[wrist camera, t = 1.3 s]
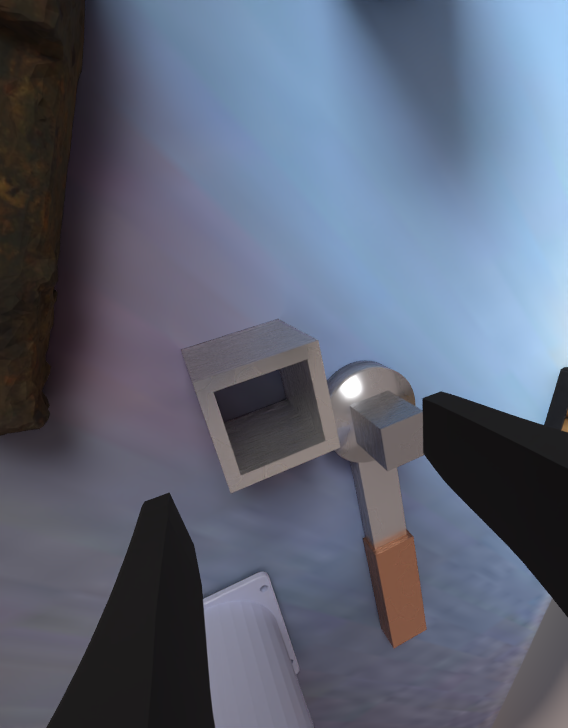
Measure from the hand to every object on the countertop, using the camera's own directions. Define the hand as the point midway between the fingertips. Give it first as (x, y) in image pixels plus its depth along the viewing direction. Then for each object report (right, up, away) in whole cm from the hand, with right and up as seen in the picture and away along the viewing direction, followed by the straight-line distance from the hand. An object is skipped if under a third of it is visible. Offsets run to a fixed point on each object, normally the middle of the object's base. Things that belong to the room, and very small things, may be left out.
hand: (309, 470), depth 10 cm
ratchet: (+5, -7, +15) cm, 17 cm away
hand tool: (-11, +10, +5) cm, 16 cm away
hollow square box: (-3, +2, +9) cm, 10 cm away
